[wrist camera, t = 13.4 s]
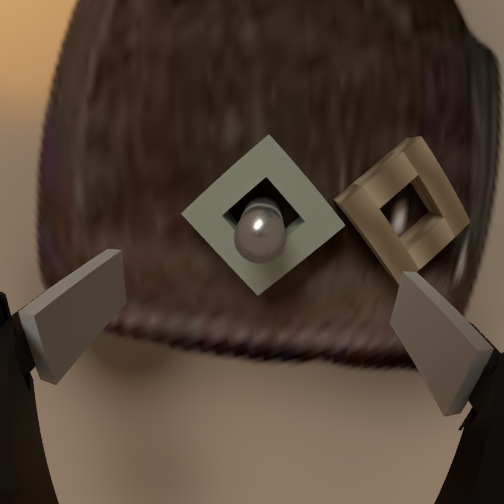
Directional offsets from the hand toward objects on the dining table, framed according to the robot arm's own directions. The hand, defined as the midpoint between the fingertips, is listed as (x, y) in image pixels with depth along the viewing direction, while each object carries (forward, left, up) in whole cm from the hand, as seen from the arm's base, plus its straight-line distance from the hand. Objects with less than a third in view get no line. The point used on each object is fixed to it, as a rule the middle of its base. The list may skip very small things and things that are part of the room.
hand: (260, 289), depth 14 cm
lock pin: (0, 0, -22) cm, 22 cm away
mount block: (-13, +10, -22) cm, 28 cm away
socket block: (0, 0, -22) cm, 22 cm away
